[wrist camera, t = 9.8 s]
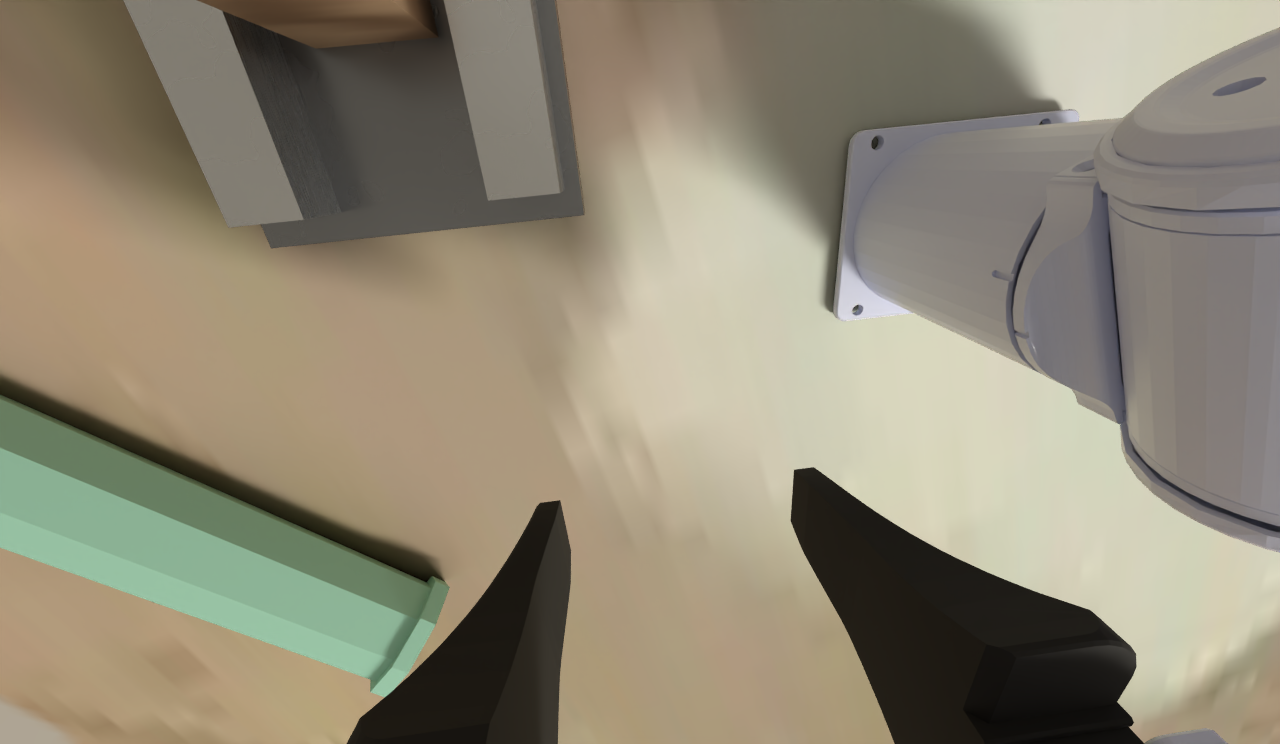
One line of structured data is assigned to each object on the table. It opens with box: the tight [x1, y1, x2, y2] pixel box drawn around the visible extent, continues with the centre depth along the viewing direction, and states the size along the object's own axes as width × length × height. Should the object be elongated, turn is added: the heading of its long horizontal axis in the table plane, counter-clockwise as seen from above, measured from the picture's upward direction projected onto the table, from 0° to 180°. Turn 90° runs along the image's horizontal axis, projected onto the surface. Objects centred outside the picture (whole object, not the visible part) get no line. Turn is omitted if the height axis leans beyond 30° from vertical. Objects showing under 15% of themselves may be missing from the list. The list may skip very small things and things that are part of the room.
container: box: [0, 395, 450, 697], centre depth 21 cm, size 6×6×25 cm
